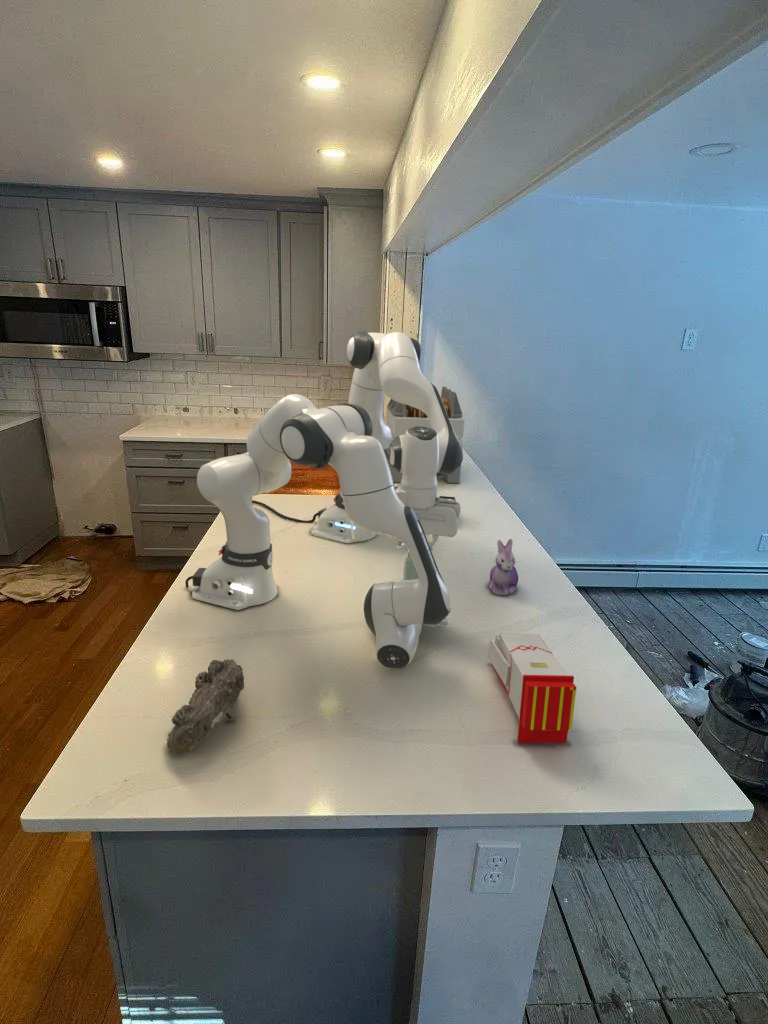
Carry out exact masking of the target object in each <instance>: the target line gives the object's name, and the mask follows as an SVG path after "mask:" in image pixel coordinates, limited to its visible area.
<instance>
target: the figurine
mask: <svg viewBox="0 0 768 1024" xmlns="http://www.w3.org/2000/svg"><path fill="white" fill-rule="evenodd" d="M496 542H497V543H496V545H497V555H496V557H495V564H496V565H494V566H493V567H492V568H491V569H490V573H489V581H488V587H489V589H490V590H491V591H492V593H493V594H495V595H499V596H507V595H509V594H513V593H514V592H515V591H516V590H517V587H518V583H519V574H518V571H517V568H516V567H515V565H516V559H515V555H514V554H513V551H512V549H513V543H514V542H513V539H512V538H509V539H508V540H507V542H506V544H505V545H504V544H503V541H502V540H501V539H498V540H497V541H496Z"/></svg>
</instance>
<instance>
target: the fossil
mask: <svg viewBox="0 0 768 1024" xmlns="http://www.w3.org/2000/svg"><path fill="white" fill-rule="evenodd" d="M243 670H244V669H243V667H242V665H240V664H237V662H236V661H235V660H234V659H232V658H231V659H227V658H226V659H224V660H223V661H222V660H217V659H212V660H211V661H210V663H209V665H208V666H207V671H201V672H199V673H198V674H197V675H196V676H195V680H194V684H195V685H194V687H195V689H194V690H193V693H192V694H191V697H190V698H189V700H188V704H184V705H182V706H181V707H180V709H177V710H176V711H175V713H174V715H173V716H172V718H171V723H172V724H173V727H172V730H171V731H170V732H168V734H167V738H166V741H167V742H166V745H167V749H168V750H169V751H173V752H174V753H176V754H178V753H182V752H188V751H189V752H192V751H193V750H195V748H196V747H197V746H199V744H200V743H201V742H203V741H204V740H205V739H206V738H207V737H208V736H209V735H210V734H211V733H212V732H214V730H215V729H217V727H218V726H219V724H220V722H221V721H222V720H223V719H224V718H225V716H226V717H227V719H229V720H233V717H232V715H230V714H229V710H230V709H231V708H234V706H235V704H236V703H237V702H238V699H239V697H240V695H241V693H242V691H243V690H245V689H244V688H245V675H244V671H243Z"/></svg>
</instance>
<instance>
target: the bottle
mask: <svg viewBox="0 0 768 1024" xmlns="http://www.w3.org/2000/svg"><path fill="white" fill-rule="evenodd" d="M402 578H403V579H402V581H404V580H413V579H418V578H419V576H418V573H417V571H416V568H415V565H414V563H413V560H412V558H411V555H410V552H409V551H408V552H407V554H406V557H405V559H404V563H403V577H402Z"/></svg>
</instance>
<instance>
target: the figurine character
mask: <svg viewBox="0 0 768 1024" xmlns="http://www.w3.org/2000/svg"><path fill="white" fill-rule="evenodd" d="M438 498H445V499H454V500H455V501H456V502H457V500H456V496H444V495H439V497H438ZM455 504H457V503H455Z"/></svg>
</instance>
